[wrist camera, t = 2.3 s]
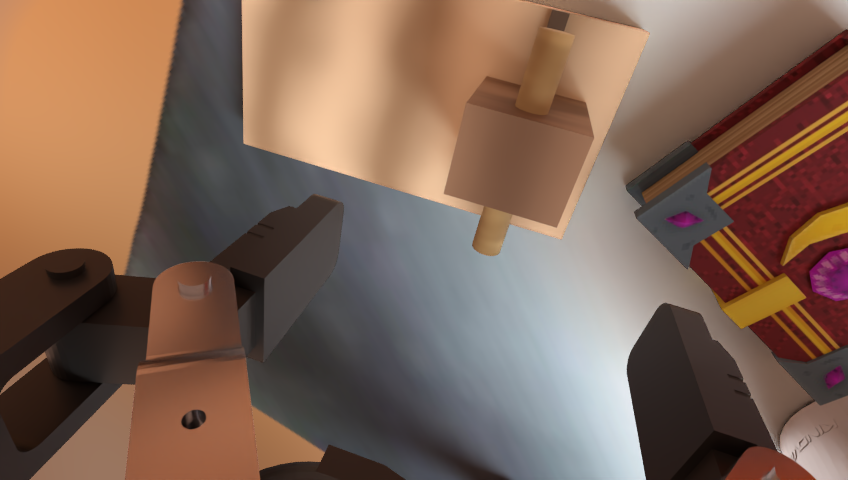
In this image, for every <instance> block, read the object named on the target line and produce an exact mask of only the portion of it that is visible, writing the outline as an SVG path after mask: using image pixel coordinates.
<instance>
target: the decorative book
mask: <svg viewBox="0 0 848 480" xmlns="http://www.w3.org/2000/svg"><path fill="white" fill-rule="evenodd" d="M626 189H627V191H628V192H629V193H630V194H631V195H632V196H633V197H634V198H635V199H636V200H637V201H638V202H639V204H640V205H641V206H642V207H640V208H639V209H637V210H636V211H635V212H634V213H635V216H636V218H637V219H638V220H639V221H640V222H641V223H642V224H643V225H644V226H645V227H646V228H647V229H648V230H649V231H650V232H651V233H652V234H653V235H654V236H655V237H656V238H657V239H658V240H659V241H660V242H661V243H662V244H663V245H664V246H665V247H666V248H667V249H668V251H669V252H670V253H671V254H672V255H673V256H674V257H675V258H676V259H677V260H678V261H679V262H680V263H681V264H682V265H683V266H684V267H685V268H686V269H688V268H689V266H690V267H691V268H692V269H693V270H694V271H695V272H696V273H697V275H698V276H699V277H700V278H701V279H702V280H703V281H704V282H705V283H706V284H707V285H708V286H709V287H710V288H711V289H712V291H713V293H714V295H715V297H716V299H717V301H718V303H719V305H720V307H721V309H722V310H723V311H724V312H725V313H726V314H727V315H728V316H729V317H730V319H731V320H732V321H733V322H734V323H735V324H736V325H737V326H738V327H739V328H740V329H742V328H745V327H747V326H748V327H749V328H750V329H751V330H752V331H753V332H754V333H755V334H756V335H757V336H758V337H759V338H760V339H761V340H762V341H763V342H764V343H765V344H766V345H767V346H768V347H769V348H770V349H771V350H772V351H773V352H771V353H772V354H773V356H774V357H775V359H776V360H777V362H778V363H779V364H780V365H781V366H782V367H783V368H784V369H785V370H786V371H787V372H788V373H789V374H790V375H791V376H792V377H793V378H794V379H795V380H796V381H797V382H798V383H799V384H800V386H801V387H802V388H803V389H804V390H805V391H806V392H807V393H808V394H809V395H810V396H811V397H812V398H813V399H814V400H815V401H816V402H817V403H818V404H819V405H820V406H821V405H824V404H827V403H829V402H832V401H835V400H838V399H840V398H843V397H846V396H848V30H847V29H846V30H845V31H843V32H842V33H840V34H839V35H838V36H836V37H835V38H834V39H832V40H831V41H830V42H828V43H827V44H825V45H824V46H823V47H821V48H820V49H819V50H817V51H816V52H815V53H813V54H812V55H810V56H809V57H808V58H806V59H805V60H804V61H802V62H801V63H800V64H798V65H797V66H795V67H794V68H793V69H791V70H790V71H789V72H787V73H786V74H785V75H783V76H782V77H780V78H779V79H778V80H776V81H775V82H774V83H772V84H771V85H770V86H768V87H767V88H765V89H764V90H763V91H761V92H760V93H759V94H757V95H756V96H755V97H753V98H752V99H750V100H749V101H748V102H746V103H745V104H744V105H742V106H741V107H740V108H738V109H737V110H735V111H734V112H733V113H731V114H730V115H729V116H727V117H726V118H724V119H723V120H722V121H720V122H719V123H718V124H716V125H715V126H714V127H712V128H711V129H709V130H708V131H707V132H705V133H704V134H703V135H701V136H700V137H699V138H697V139H696V140H694V141H693V142H692V143H690V142H689V141H687V142H685V143H684V144H683V145H681V146H680V147H678V148H677V149H676V150H674V151H673V152H672V153H670V154H669V155H667V156H666V157H665V158H663V159H662V160H661V161H659V162H658V163H656V164H655V165H654V166H652V167H651V168H650V169H648V170H647V171H645V172H644V173H643V174H641V175H640V176H639V177H637V178H636V179H634V180H633V181H632V182H630V183H629V184H628V185H626Z"/></svg>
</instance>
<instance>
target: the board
mask: <svg viewBox="0 0 848 480" xmlns="http://www.w3.org/2000/svg"><path fill="white" fill-rule="evenodd" d="M539 27H546V28H551V29H555V30H559V31H563V32H566V33H570V34H572V35H575V38H574V41H573V44H572V47H571V50H570V52H569V55H568V58H567V61H566V64H565V67H564V70H563V72H562V75H561V78H560V81H559V84H558V87H557V90H556V92H555V94H556V95H560V96H564V97H567V98H571V99H575V100H579V101H582V102H586V104H587V109H588V113H589V117H590V121H591V126H592V130H593V134H594V140H593V142H592V145H591V147H590V150H589V152H588V154H587V157H586V159H585V162H584V164H583V166H582V169H581V171H580V174H579V176H578V178H577V181H576V183H575V186H574V188H573V190H572V193H571V195H570V198H569V200H568V202H567V205H566V207H565V210H564V212H563V214H562V217H561V219H560V222H559V224H558V226H557V228H556V227H552V226H549V225H546V224H542V223H539V222H536V221H532V220H529V219H526V218H522V217H519V216H516V215H512V218H511V221H510V224H512V225H515V226H518V227H522V228H525V229H528V230H531V231H535V232H538V233H541V234H545V235H548V236H551V237H555V238H558V239H562V237H563V235H564V232H565V230H566V228H567V225H568V223H569V221H570V218H571V216H572V214H573V211H574V209H575V207H576V204H577V202H578V200H579V197H580V195H581V193H582V190H583V188H584V186H585V183H586V181H587V179H588V177H589V174H590V172H591V170H592V167H593V165H594V163H595V160H596V158H597V156H598V153H599V151H600V149H601V146H602V144H603V142H604V139H605V137H606V135H607V132H608V130H609V128H610V125H611V123H612V121H613V118H614V116H615V114H616V111H617V109H618V107H619V104H620V102H621V100H622V97H623V95H624V93H625V90H626V88H627V86H628V83H629V81H630V79H631V76H632V74H633V72H634V69H635V67H636V65H637V62H638V60H639V58H640V56H641V53H642V51H643V49H644V46H645V44H646V42H647V39H648V37H649V35H650V33H649V32H647V31H645V30H643V29H640V28H636V27H632V26H627V25H623V24H619V23H615V22H611V21H607V20H603V19H599V18H595V17H591V16H586V15H582V14H578V13H574V12H570V11H566V10H562V9H558V8H554V7H550V6H545V5H541V4H537V3H533V2H529V1H525V0H242V51H243V130H244V144H247V145H250V146H254V147H257V148H260V149H263V150H267V151H270V152H273V153H277V154H280V155H283V156H287V157H290V158H293V159H297V160H300V161H303V162H306V163H310V164H313V165H316V166H320V167H323V168H326V169H330V170H333V171H336V172H340V173H343V174H346V175H349V176H353V177H356V178H359V179H363V180H366V181H369V182H373V183H376V184H379V185H383V186H386V187H389V188H393V189H396V190H399V191H402V192H406V193H409V194H412V195H416V196H419V197H422V198H426V199H429V200H432V201H436V202H439V203H442V204H445V205H449V206H452V207H455V208H459V209H462V210H465V211H469V212H472V213H475V214H479V215H481V214H482V211H483V208H484V206H482V205H479V204H476V203H472V202H469V201H466V200H462V199H459V198H456V197H452V196H449V195H446V194H444V190H445V186H446V182H447V178H448V174H449V170H450V166H451V162H452V158H453V154H454V150H455V146H456V142H457V138H458V134H459V130H460V126H461V122H462V118H463V114H464V110H465V106H466V102H467V101H468V100H469V99H470V97H471V96H472V95H473V93H474V92H475V91H476V89H477V88H478V87H479V86H480V84H481V83H482V82H483V80H484V79H485V78H486V76H488V77H492V78H496V79H500V80H503V81H507V82H511V83H515V84H518V85H521V84H522V81H523V77H524V74H525V71H526V68H527V64H528V61H529V58H530V55H531V51H532V48H533V45H534V42H535V38H536V35H537V32H538V29H539Z"/></svg>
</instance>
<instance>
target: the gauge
mask: <svg viewBox="0 0 848 480" xmlns="http://www.w3.org/2000/svg"><path fill="white" fill-rule="evenodd" d="M574 38H575V35H572V34H570V33H566V32H563V31H559V30H555V29H551V28H546V27H539V29H538V32H537V35H536V38H535V42H534V45H533V48H532V51H531V55H530V58H529V61H528V64H527V68H526V71H525V74H524V77H523V81H522V84H521V85H518V84H515V83H511V82H507V81H503V80H500V79H496V78H492V77H488V76H486V78H485V79H484V80H483V82H482V83H481V84H480V86H479V87H478V88H477V89H476V91H475V92H474V93H473V95H472V96H471V97H470V99H469V100H468V101H467V102H466V106H465V110H464V114H463V118H462V122H461V126H460V130H459V134H458V138H457V142H456V146H455V150H454V154H453V158H452V162H451V166H450V170H449V174H448V178H447V182H446V186H445V190H444V194H446V195H449V196H452V197H456V198H459V199H462V200H466V201H469V202H472V203H476V204H479V205H482V206H484V208H483V211H482V214H481V217H480V221H479V224H478V227H477V230H476V234H475V237H474V240H473V244H472V246H473V248H474V249H475V250H476V251H477V252H479V253H481V254H484V255H488V256H495V255H498V254H499V253H500V250H501V247H502V244H503V241H504V238H505V235H506V233H507V230H508V227H509V224H510V221H511V218H512V215H516V216H519V217H522V218H526V219H529V220H532V221H536V222H539V223H542V224H546V225H549V226H552V227H556V228H557V226H558V224H559V222H560V219H561V217H562V214H563V212H564V210H565V207H566V205H567V202H568V200H569V198H570V195H571V193H572V190H573V188H574V186H575V183H576V181H577V178H578V176H579V174H580V171H581V169H582V166H583V164H584V162H585V159H586V157H587V154H588V152H589V150H590V147H591V145H592V142H593V140H594V134H593V130H592V126H591V121H590V117H589V113H588V109H587V104H586V102H582V101H579V100H575V99H571V98H567V97H564V96H560V95H556V94H555V92H556V90H557V87H558V84H559V81H560V78H561V75H562V72H563V70H564V67H565V64H566V61H567V58H568V55H569V52H570V50H571V47H572V44H573V41H574Z"/></svg>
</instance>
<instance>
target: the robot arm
mask: <svg viewBox="0 0 848 480" xmlns="http://www.w3.org/2000/svg"><path fill="white" fill-rule="evenodd" d="M343 213H344V205H343V203H342V202H339V201H336V200H333V199H330V198H326V197H323V196H320V195H317V194H313V195H311V196H310V197H309V198H308V199H307V200H306V201H305V202H303V203H302V204H301V205H300V206H299V207H298V208H294V207H290V206H288V207H285V208H282V209H279V210H276V211H274V212H271V213H269V214H268V215H267V216H266V217H265V218H263V219H262V220H261V221H260V222H258V225H255V226H253V227H252V228H251V229H250V230H249V231H248V232H247V234H246V233H245V234H244V235H242V236H241V237H240V238H239V239H237V240H236V241H235V242H234V243H233V244H231V245H230V246H229V247H228V248H226V249H225V250H224V251H223V252H222V253H220V254H219V255H218V256H217V257H215V258H214V259H213V260H212V261H210V262H203V261H194V262H187V263H182V264H179V265H175V266H173V267H171V268H169V269H167V270H165V271H164V272H162V273H161V274H160V275H159V276H158V277H157V278H146V277H135V276H124V275H115V274H114V269H113V264H112V261H111V259H110V258H109V257H108V256H107V255H106V254H104V253H102V252H99V251H96V250H92V249H65V250H59V251H55V252H52V253H48V254H45V255H42V256H40V257H38V258H36V259H34V260H32V261H30V262H29V263H27V264H25V265H24V266H22V267H20V268H18V269H17V270H15V271H13V272H12V273H10V274H8V275H6V276H5V277H3V278H1V279H0V392H1V390H2V389H3V387H4V386H5V385H6V383H7V382H8V381H9V380H10V379H11V378H12V377H13V376H14V375H15V374H17V373H18V372H19V371H20V370H22V369H23V368H24V367H26V366H27V365H28V364H30V363H31V362H32V361H33V360H35V359H36V358H37V357H38V356H40V355H41V354H42V353H43V352H45V353H46V356H47V358H45V359H44V360H43V361H42V362H41V363H39V364H38V365H37V366H35V367H34V368H33V369H32V370H30V371H29V372H28V373H27V374H25V375H24V376H23V377H22V378H20V379H19V380H18V381H17V382H15V383H14V384H13V385H12V386H11V387H9V388H8V389H7V390H6V391H5V392H3V393H2V394H1V395H0V480H29V479H31V477H33V476H34V474H35V473H36V472H37V471H38V470H39V469H40V468H41V467H42V466H43V465H44V464H45V463H46V462H47V461H48V460H49V459H50V458H51V457H52V456H53V455H54V454H55V453H56V452H57V451H58V450H59V449H60V448H61V447H62V446H63V445H64V444H65V443H66V442H67V441H68V440H69V438H71V437H72V436H73V435H74V434H75V432H76V431H77V430H78V429H79V428H80V427H81V426H82V425H83V424H84V423H85V422H86V421H87V420H88V419H89V418H90V417H91V416H92V415H93V414H94V413H95V412H96V411H97V410H98V409H99V408H100V407H101V406H102V405H103V404H104V403H105V402H106V400H108V399H109V398H110V397H111V396H112V394H114V392H115V391H116V390H117V389H118V388H119V387H120V386H121V385H122V384H135V393H134V401H133V411H132V419H131V429H130V437H129V447H128V455H127V465H126V474H125V480H405V479H404V478H403V477H401V476H400V475H398V474H397V473H395V472H394V471H392V470H391V469H390V468H388V467H387V466H385V465H383V464H380V463H377V462H375V461H372V460H369V459H367V458H364V457H361V456H359V455H356V454H353V453H350V452H348V451H345V450H342V449H340V448H337V447H334V446H332V445H329V446H328V448H327V450H326V452H325V454H324V456H323V458H322V460H321V462H293V463H287V464H280V465H277V466H273V467H269V468H266V469H263V470H260V471H259V465H258V457H257V448H256V440H255V432H254V425H253V415H252V407H251V399H250V390H249V382H248V374H247V365H246V357H248V358H251V359H254V360H257V361H260V362H262V363H264V361H265V360H266V359H267V357H268V356H269V355H270V354H271V352H272V351H273V350H274V348H275V347H276V346H277V344H278V343H279V342H280V340H281V339H282V338H283V337H284V335H285V334H286V333H287V331H288V330H289V329H290V327H291V326H292V325H293V323H294V322H295V321H296V320H297V318H298V317H299V316H300V314H301V313H302V312H303V310H304V309H305V308H306V306H307V305H308V304H309V303H310V301H311V300H312V299H313V297H314V296H315V295H316V293H317V292H318V291H319V290H320V288H321V287H322V286H323V284H324V283H325V282H326V280H327V279H328V278H329V276H330V275H331V273H332V272H333V270H334V267H335V265H336V262H337V259H338V254H339V247H340V238H341V230H342V222H343ZM627 376H628V382H629V387H630V393H631V398H632V404H633V410H634V415H635V421H636V426H637V432H638V437H639V443H640V448H641V454H642V459H643V465H644V471H645V476H646V480H848V396H846V397H843V398H840V399H838V400H835V401H832V402H829V403H827V404H824V405H821V406H820V405H819V404H818V403H817V402H816V401H815V402H813V403H811V404H810V405H808V406H806V407H804V408H802V409H801V410H800V411H798V412H797V413H796V414H795V415H793V416H792V417H791V418H790V419H789V421H788V422H787V423H786V424H785V426H784V427H783V430H782V432H781V435H780V448H781V451H782V453H779V452H778V451H777V449H776V447H775V445H774V443H773V441H772V439H771V437H770V434H769V432H768V430H767V428H766V426H765V424H764V422H763V420H762V417H761V415H760V413H759V411H758V409H757V407H756V405H755V403H754V400H753V399H751V398H750V396H751V394H750V392H749V390H748V388H747V386H746V383H744V382H743V377H742V375H741V373H740V371H739V368H738V366H737V364H736V362H735V360H734V359H733V358H732V357H731V356H730V355H729V353H728V352H727V351H726V350H725V349H724V348H723V347H722V345H721V344H720V343H719V342H718V341H715V340H712V338H711V336H710V333H709V331H708V329H707V326H706V324H705V322H704V319H703V317H702V316H701V314H699V313H697V312H694V311H691V310H687V309H684V308H681V307H678V306H674V305H671V304H668V303H664V304H662V305H661V306H659V308H658V309H657V310H656V312H655V313H654V315H653V317H652V318H651V320H650V321H649V323H648V325H647V326H646V328H645V329H644V331H643V332H642V334H641V336H640V337H639V339H638V340H637V342H636V344H635V345H634V347H633V349H632V350H631V353H630V355H629V359H628V364H627Z"/></svg>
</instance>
